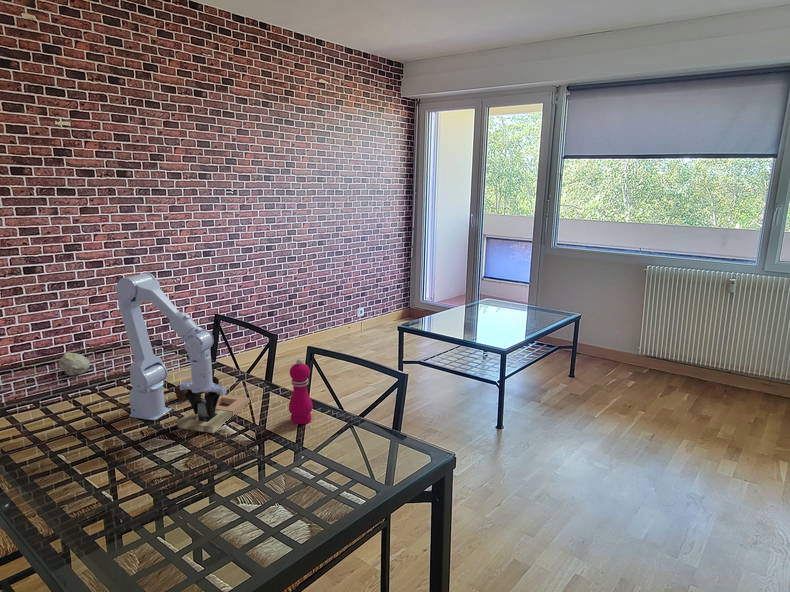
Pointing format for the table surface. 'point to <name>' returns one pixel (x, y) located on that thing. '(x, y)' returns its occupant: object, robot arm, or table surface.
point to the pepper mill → (300, 394)
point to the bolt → (181, 393)
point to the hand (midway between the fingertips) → (204, 413)
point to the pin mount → (211, 426)
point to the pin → (203, 411)
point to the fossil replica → (73, 363)
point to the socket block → (232, 403)
